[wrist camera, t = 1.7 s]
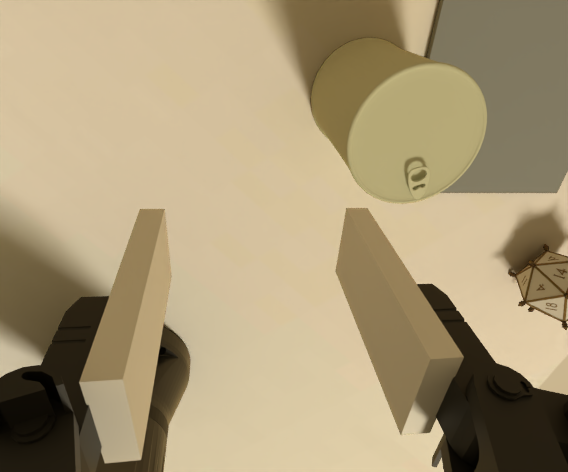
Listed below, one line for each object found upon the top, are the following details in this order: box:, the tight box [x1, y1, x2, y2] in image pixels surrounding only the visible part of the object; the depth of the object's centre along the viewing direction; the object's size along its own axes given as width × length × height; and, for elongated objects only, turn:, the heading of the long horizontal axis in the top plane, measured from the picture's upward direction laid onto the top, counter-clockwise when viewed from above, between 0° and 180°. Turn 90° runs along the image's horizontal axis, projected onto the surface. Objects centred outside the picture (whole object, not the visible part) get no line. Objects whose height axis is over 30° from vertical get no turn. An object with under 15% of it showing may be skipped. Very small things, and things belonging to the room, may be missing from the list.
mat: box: [426, 0, 568, 193], centre depth 36 cm, size 18×18×1 cm
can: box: [311, 38, 487, 204], centre depth 30 cm, size 9×9×12 cm
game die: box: [508, 244, 568, 330], centre depth 45 cm, size 9×8×10 cm
